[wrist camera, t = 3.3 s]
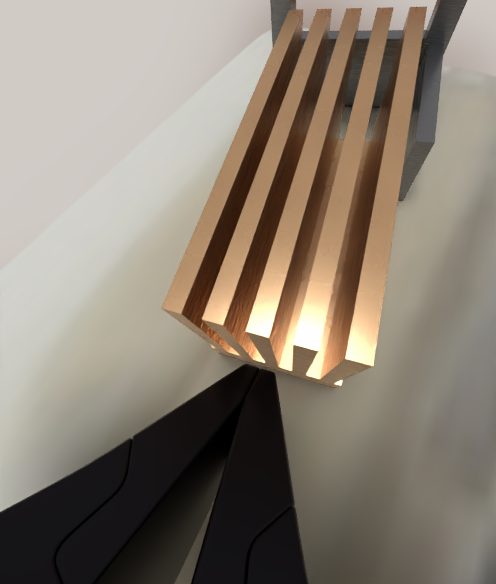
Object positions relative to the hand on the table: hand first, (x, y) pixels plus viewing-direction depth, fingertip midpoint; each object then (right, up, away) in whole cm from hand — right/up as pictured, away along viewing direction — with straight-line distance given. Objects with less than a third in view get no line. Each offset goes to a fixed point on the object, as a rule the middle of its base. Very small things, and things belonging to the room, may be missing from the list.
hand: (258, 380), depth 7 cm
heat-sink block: (+3, +5, +9) cm, 11 cm away
